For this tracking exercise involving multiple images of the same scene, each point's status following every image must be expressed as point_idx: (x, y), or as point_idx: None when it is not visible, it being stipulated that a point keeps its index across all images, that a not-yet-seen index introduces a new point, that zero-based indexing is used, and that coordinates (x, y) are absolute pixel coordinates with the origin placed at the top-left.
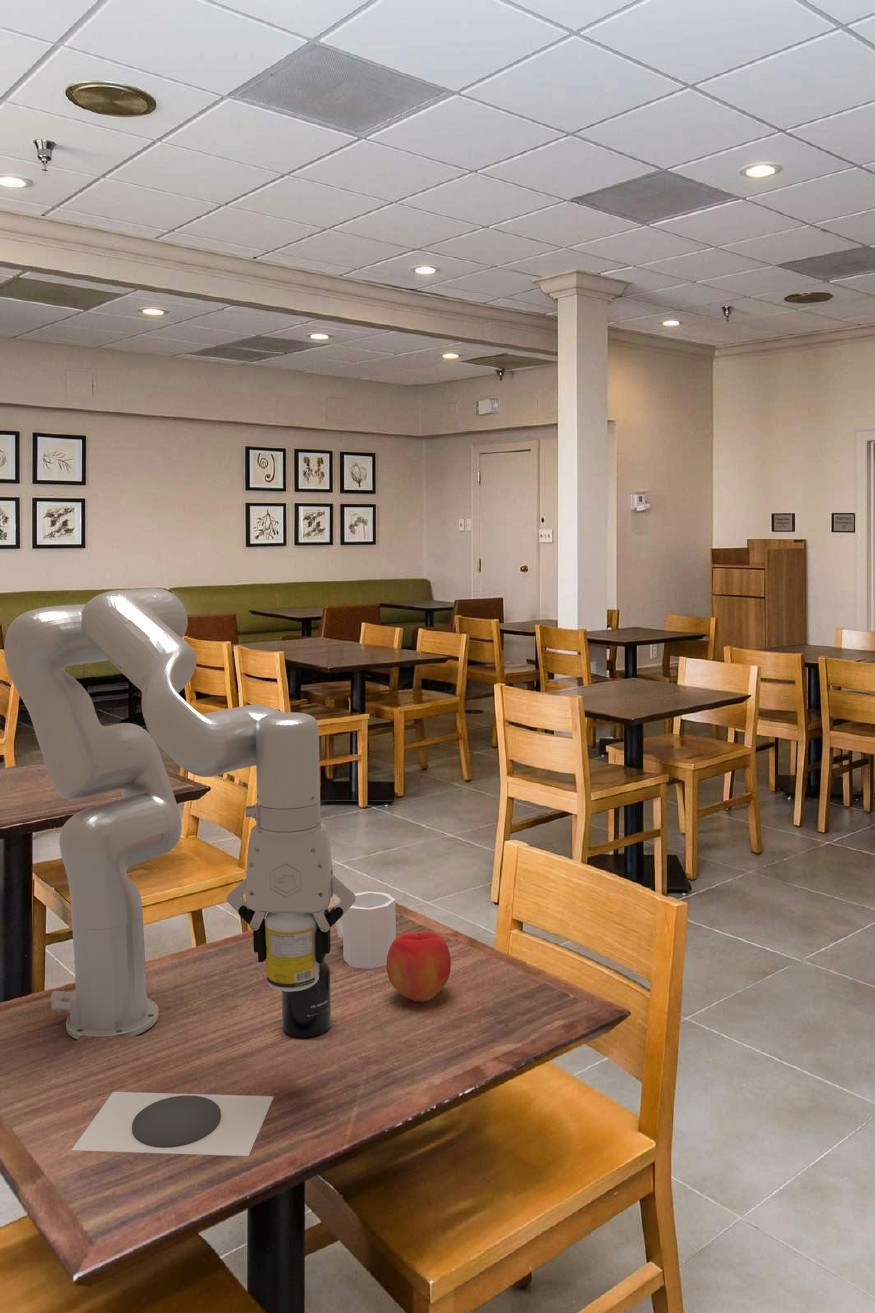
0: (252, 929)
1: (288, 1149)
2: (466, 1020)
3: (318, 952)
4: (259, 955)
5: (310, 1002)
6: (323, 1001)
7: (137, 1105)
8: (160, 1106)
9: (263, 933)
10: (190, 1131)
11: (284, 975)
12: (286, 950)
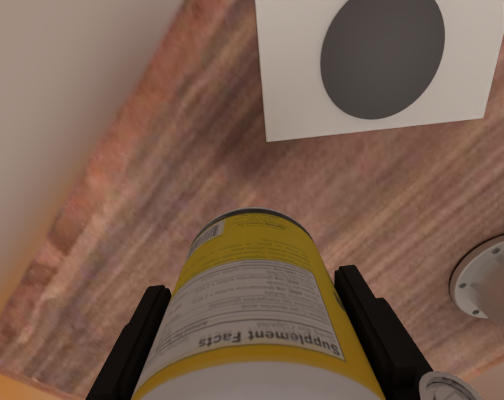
0: (448, 375)
1: (214, 41)
2: (116, 329)
3: (145, 311)
4: (357, 278)
5: None
6: None
7: (443, 89)
8: (412, 84)
9: (379, 361)
10: (354, 24)
11: (253, 223)
12: (243, 279)
